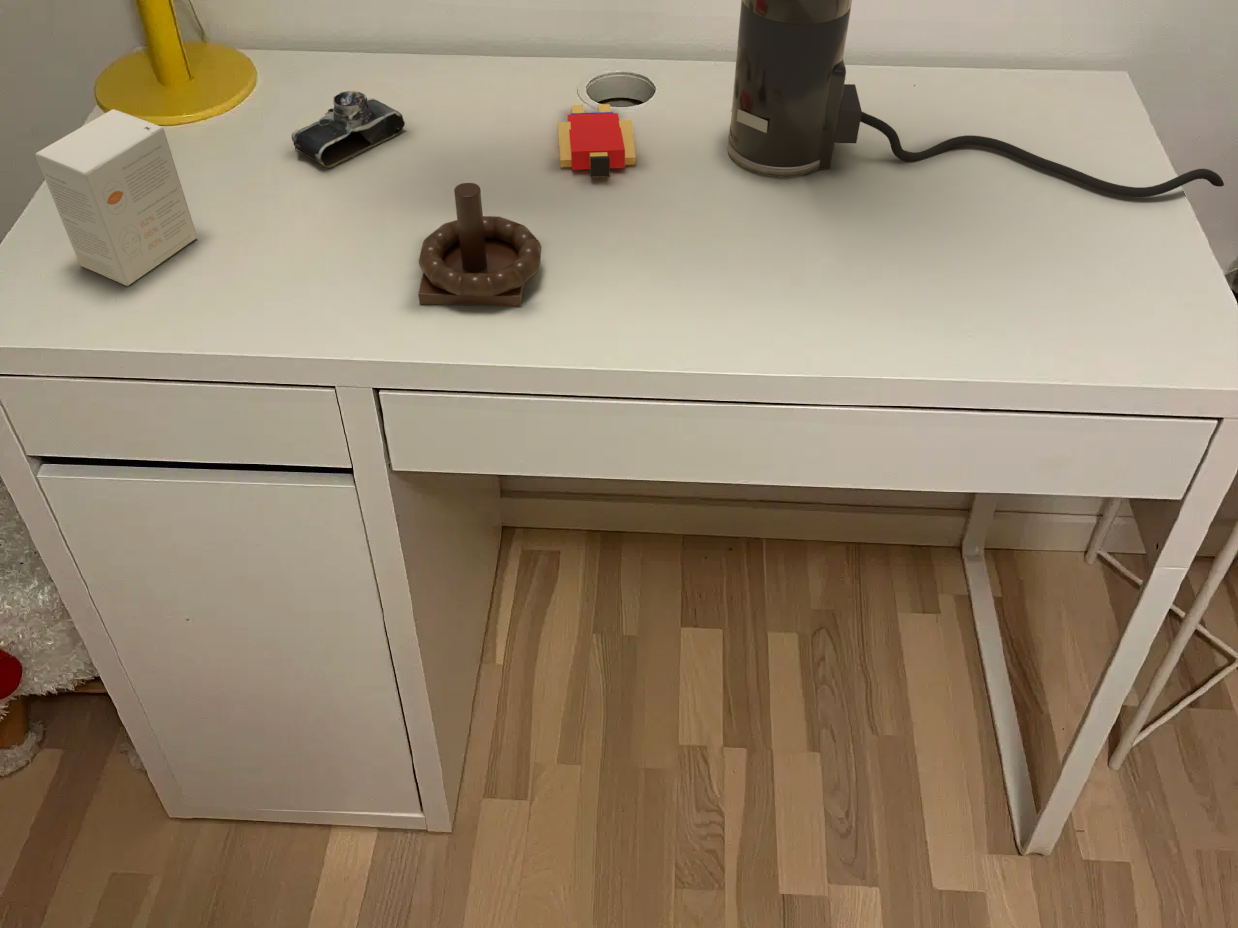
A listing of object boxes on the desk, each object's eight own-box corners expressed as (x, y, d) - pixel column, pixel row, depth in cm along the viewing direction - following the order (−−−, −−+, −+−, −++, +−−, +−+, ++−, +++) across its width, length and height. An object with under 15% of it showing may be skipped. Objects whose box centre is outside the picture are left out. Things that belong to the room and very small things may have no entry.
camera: (286, 152, 106) (277, 110, 103) (375, 112, 111) (369, 71, 108) (320, 173, 103) (312, 130, 100) (409, 130, 109) (403, 89, 106)
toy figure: (555, 98, 110) (561, 157, 101) (626, 95, 110) (638, 154, 101) (556, 122, 111) (562, 183, 102) (626, 120, 112) (638, 180, 103)
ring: (544, 231, 96) (543, 212, 95) (537, 302, 89) (536, 283, 88) (429, 229, 96) (427, 210, 95) (413, 300, 89) (410, 281, 88)
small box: (151, 219, 98) (114, 106, 91) (199, 239, 96) (165, 125, 89) (77, 267, 93) (31, 152, 86) (127, 289, 91) (83, 172, 84)
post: (528, 247, 96) (523, 162, 90) (520, 306, 90) (515, 220, 85) (433, 245, 96) (422, 160, 90) (419, 304, 90) (406, 218, 85)
